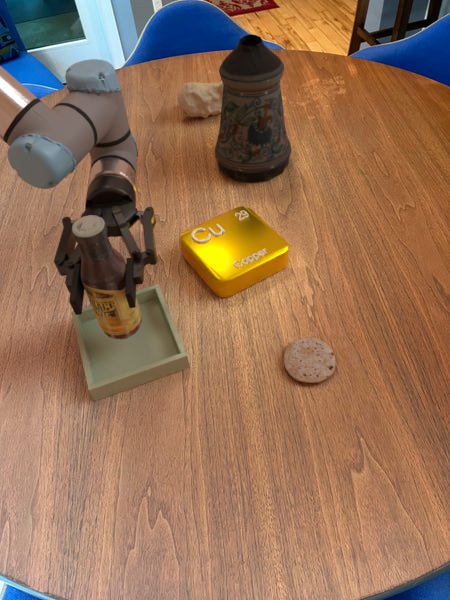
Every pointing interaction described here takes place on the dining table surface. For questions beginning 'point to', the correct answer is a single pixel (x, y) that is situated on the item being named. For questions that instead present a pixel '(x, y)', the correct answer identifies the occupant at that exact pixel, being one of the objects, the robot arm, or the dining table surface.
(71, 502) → the dining table surface
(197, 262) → the element tile
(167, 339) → the serving tray
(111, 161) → the robot arm
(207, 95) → the beige rock
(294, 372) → the flatbread
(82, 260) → the sauce bottle
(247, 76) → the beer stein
